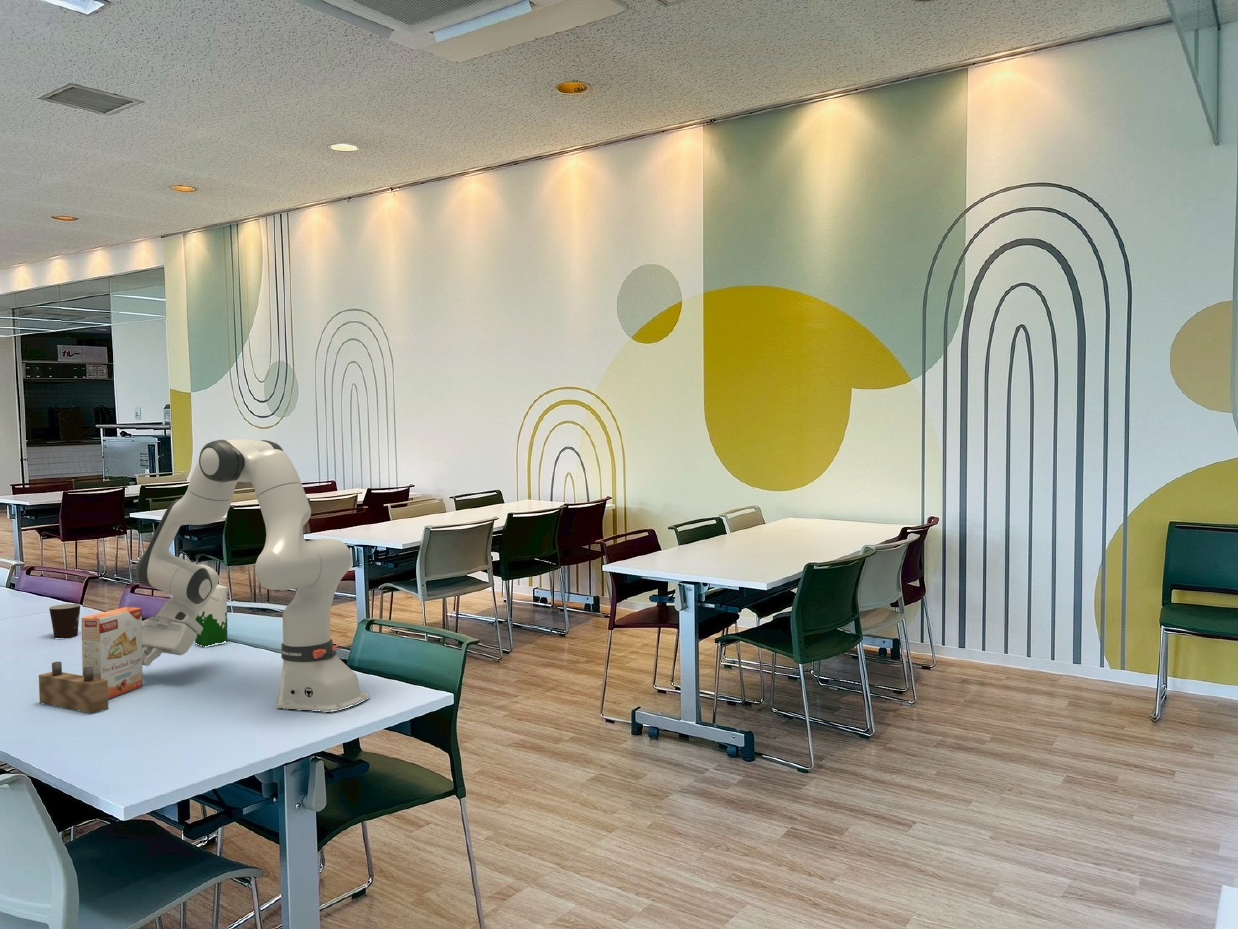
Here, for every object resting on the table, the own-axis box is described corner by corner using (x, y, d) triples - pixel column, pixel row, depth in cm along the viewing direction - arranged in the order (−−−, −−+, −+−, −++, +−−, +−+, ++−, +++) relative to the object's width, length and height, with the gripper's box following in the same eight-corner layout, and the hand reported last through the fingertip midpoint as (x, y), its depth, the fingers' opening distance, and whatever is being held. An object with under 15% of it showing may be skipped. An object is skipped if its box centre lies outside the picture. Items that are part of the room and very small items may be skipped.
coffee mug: (70, 640, 285) (69, 609, 285) (44, 640, 285) (43, 609, 285) (92, 631, 297) (91, 601, 296) (67, 631, 297) (66, 602, 296)
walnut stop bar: (108, 709, 214) (107, 667, 213) (92, 714, 210) (90, 672, 210) (56, 698, 222) (54, 659, 222) (39, 703, 219) (38, 662, 218)
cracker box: (102, 703, 219) (99, 618, 218) (82, 701, 220) (79, 617, 219) (145, 686, 232) (142, 606, 231) (125, 685, 234) (123, 606, 233)
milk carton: (191, 644, 278) (189, 580, 277) (220, 639, 284) (218, 577, 283) (202, 649, 272) (200, 583, 271) (232, 643, 278) (230, 580, 277)
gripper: (141, 609, 244) (108, 653, 235) (192, 616, 235) (160, 662, 226) (156, 622, 248) (124, 666, 239) (207, 629, 239) (176, 675, 230)
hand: (142, 664), depth 233 cm, fingers closed
